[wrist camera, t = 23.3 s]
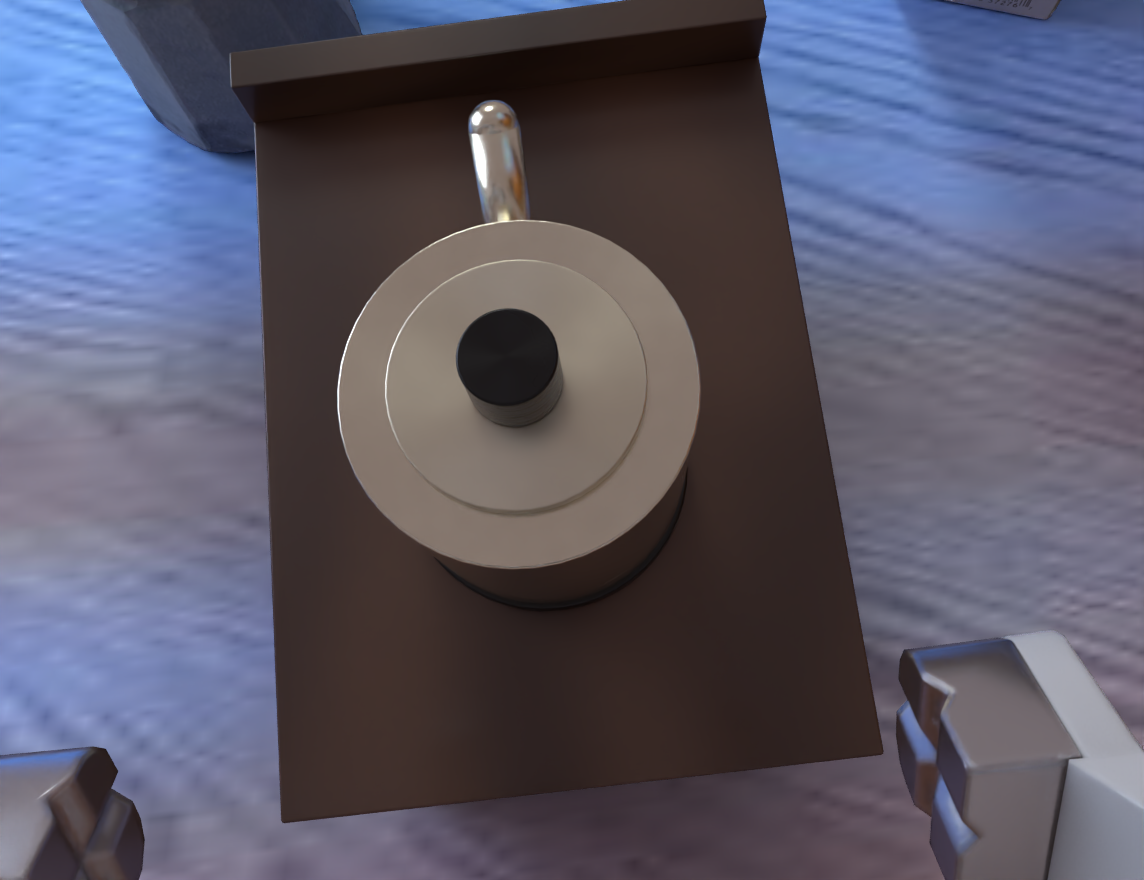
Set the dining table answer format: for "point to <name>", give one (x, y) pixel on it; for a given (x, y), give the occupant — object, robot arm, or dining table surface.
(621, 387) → the kettle
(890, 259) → the dining table surface
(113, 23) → the moka pot
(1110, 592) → the dining table surface
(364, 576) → the stand
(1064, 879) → the robot arm
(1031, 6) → the coffee box
